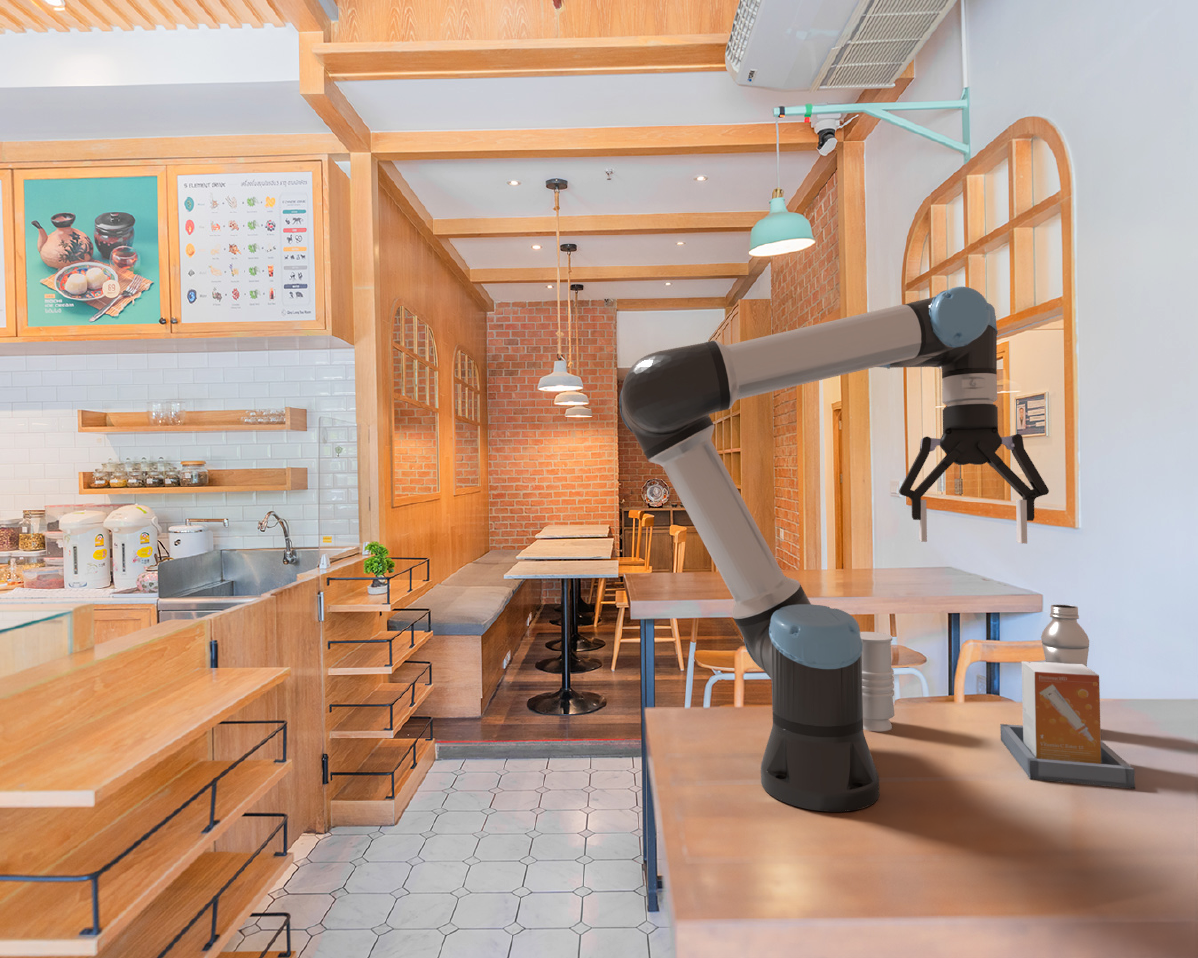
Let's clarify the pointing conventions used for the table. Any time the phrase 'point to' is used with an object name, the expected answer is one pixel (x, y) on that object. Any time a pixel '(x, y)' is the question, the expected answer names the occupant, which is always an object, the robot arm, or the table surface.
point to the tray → (1069, 764)
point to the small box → (1061, 712)
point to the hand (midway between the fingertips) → (971, 542)
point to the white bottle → (877, 681)
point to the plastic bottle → (1065, 637)
